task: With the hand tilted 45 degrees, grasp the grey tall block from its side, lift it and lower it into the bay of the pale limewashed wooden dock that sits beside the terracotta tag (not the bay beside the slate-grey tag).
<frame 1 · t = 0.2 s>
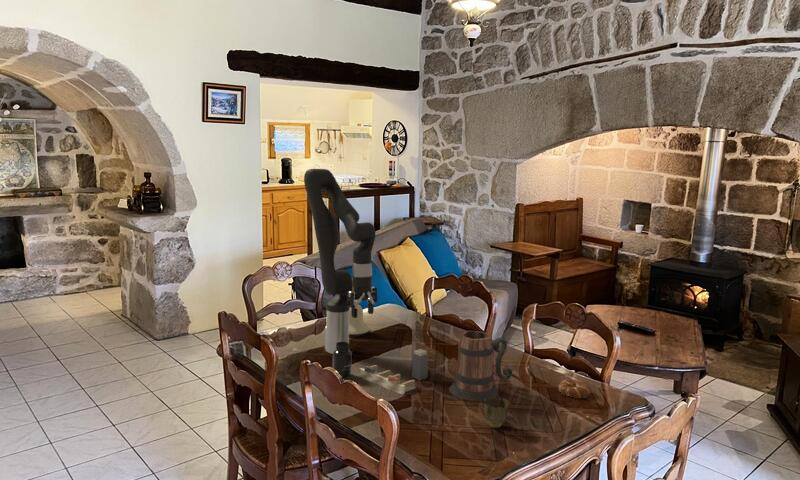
hand: (362, 315, 229), 18 cm above the table, tool pointing down, fingers open, 8 cm apart
grey tall block: (419, 377, 214), on the table
handbell: (352, 332, 266), on the table
supplement bottle: (341, 375, 214), on the table
bread roll: (573, 393, 204), on the table
dock: (388, 382, 208), on the table
tankard: (481, 390, 205), on the table
cup: (495, 427, 177), on the table
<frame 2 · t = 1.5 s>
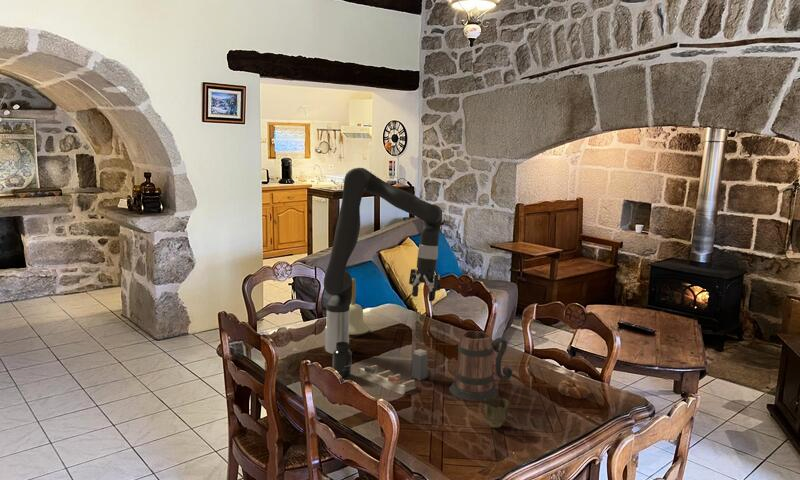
hand: (423, 298, 225), 26 cm above the table, tool pointing down, fingers open, 8 cm apart
nothing on the table moved.
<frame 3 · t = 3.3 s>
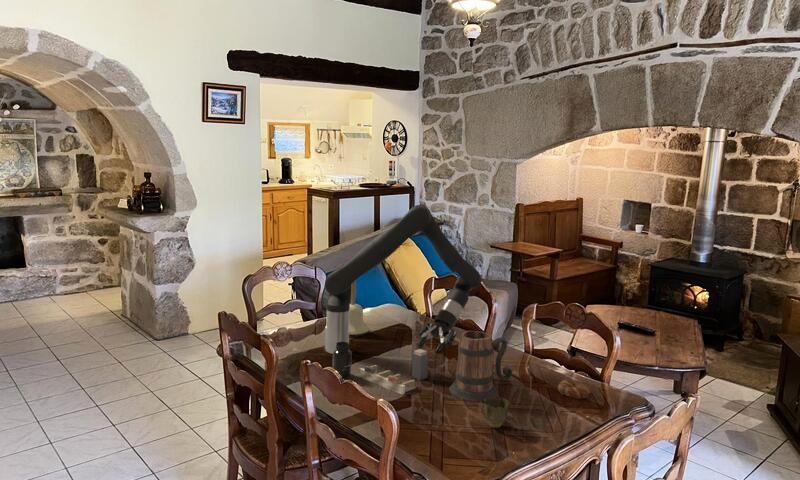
hand: (427, 350, 216), 9 cm above the table, tool tilted 45°, fingers open, 8 cm apart
nothing on the table moved.
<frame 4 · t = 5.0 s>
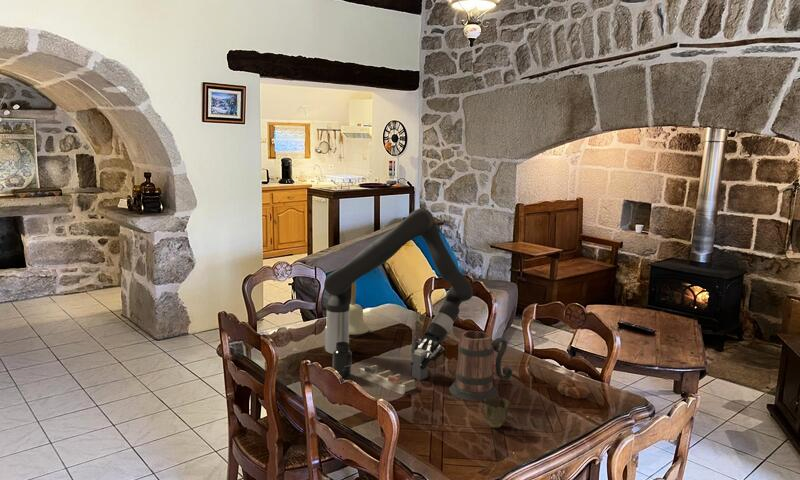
hand: (416, 366, 212), 5 cm above the table, tool tilted 45°, fingers closed on grey tall block, 4 cm apart
grey tall block: (419, 377, 214), on the table, touching gripper
everything else where it was.
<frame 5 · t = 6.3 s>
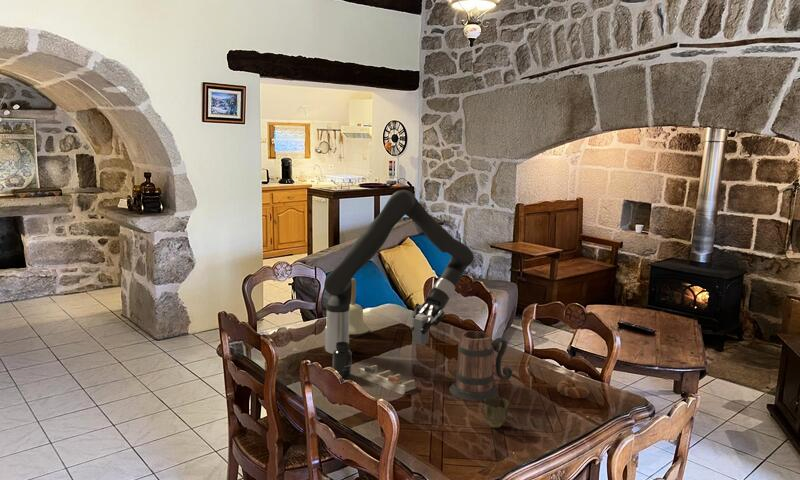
hand: (417, 331, 210), 18 cm above the table, tool tilted 45°, fingers closed on grey tall block, 4 cm apart
grey tall block: (420, 342, 212), point 13 cm above the table, touching gripper
everything else where it was.
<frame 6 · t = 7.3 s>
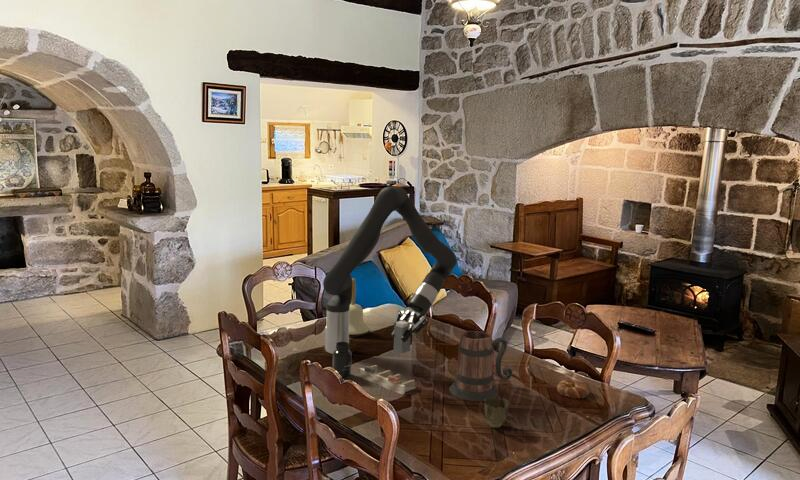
hand: (398, 338, 200), 18 cm above the table, tool tilted 45°, fingers closed on grey tall block, 4 cm apart
grey tall block: (401, 350, 202), point 13 cm above the table, touching gripper
everything else where it was.
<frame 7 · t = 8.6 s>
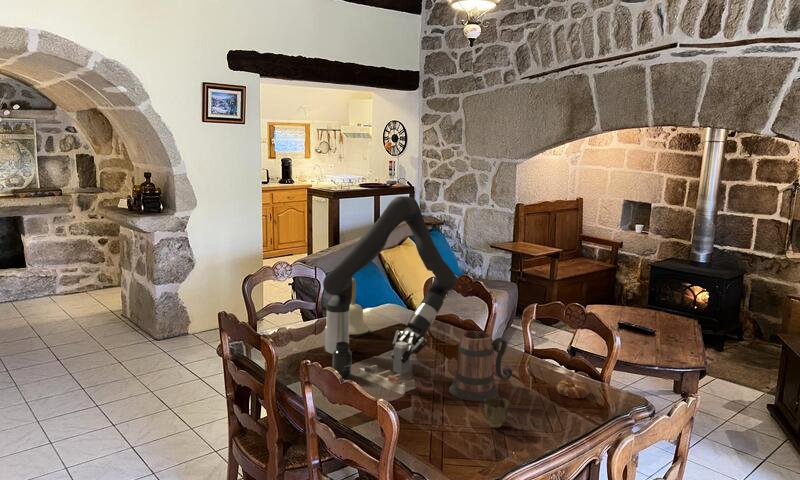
hand: (397, 359, 201), 10 cm above the table, tool tilted 45°, fingers closed on grey tall block, 4 cm apart
grey tall block: (401, 371, 203), point 6 cm above the table, touching gripper
everything else where it was.
when the fingers open (5 cm above the table, at t = 9.9 s): grey tall block stays where it is, on the table.
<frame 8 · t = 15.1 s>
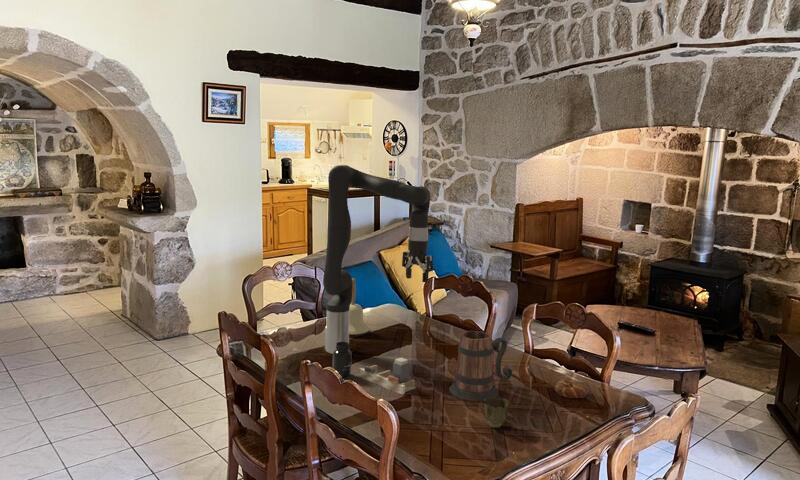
hand: (416, 280, 228), 32 cm above the table, tool pointing down, fingers open, 8 cm apart
grey tall block: (400, 387, 204), on the table
at the end: grey tall block inside the target area (0.1 cm from its centre), on the table; grey tall block tilted 0°; the gripper is holding nothing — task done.
